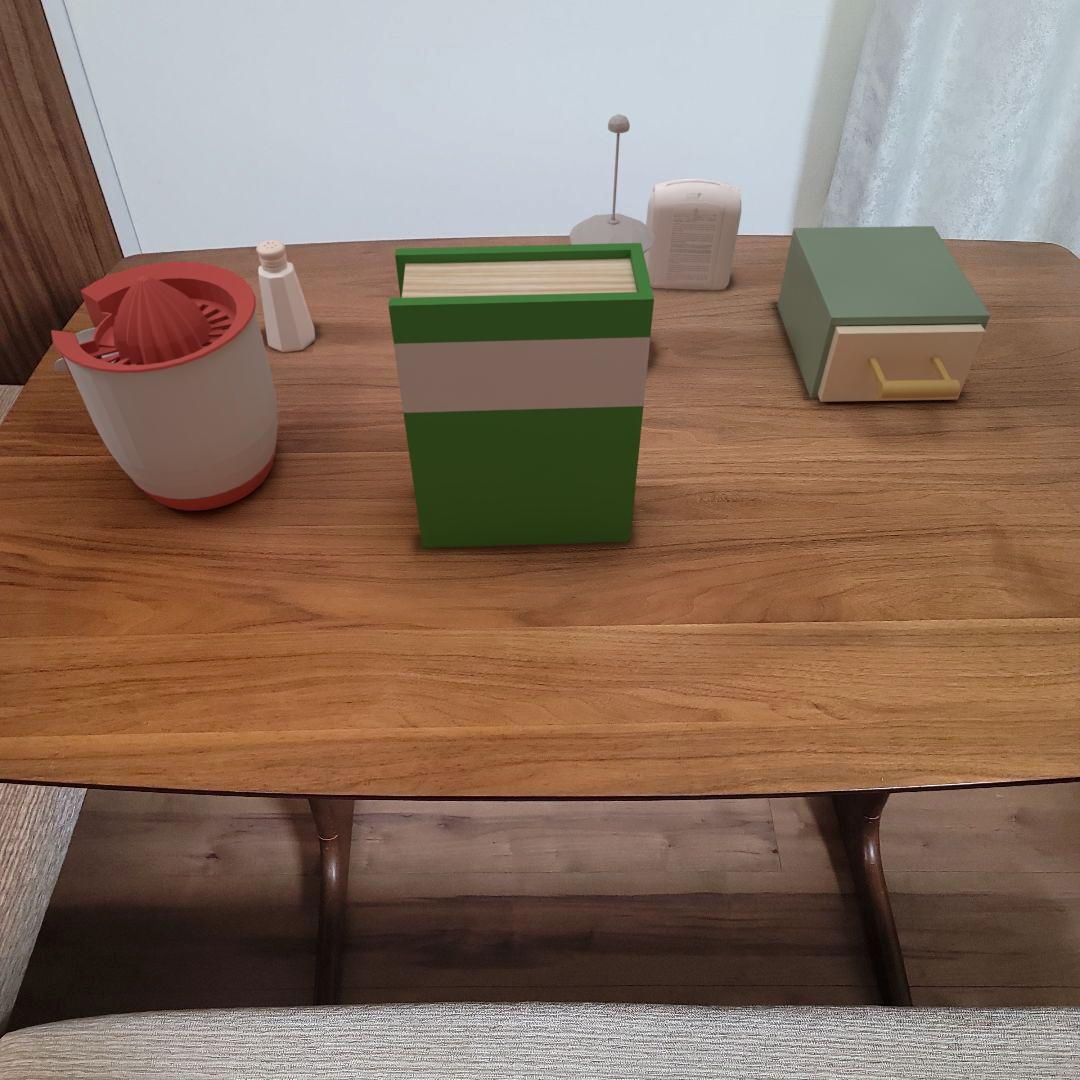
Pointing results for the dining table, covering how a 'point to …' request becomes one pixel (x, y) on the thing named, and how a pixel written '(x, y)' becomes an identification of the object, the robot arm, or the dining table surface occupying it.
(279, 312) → the salt shaker
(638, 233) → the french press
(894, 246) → the cabinet
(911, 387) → the drawer
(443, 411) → the hardback book
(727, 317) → the dining table surface
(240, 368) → the citrus juicer
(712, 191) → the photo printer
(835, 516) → the dining table surface
